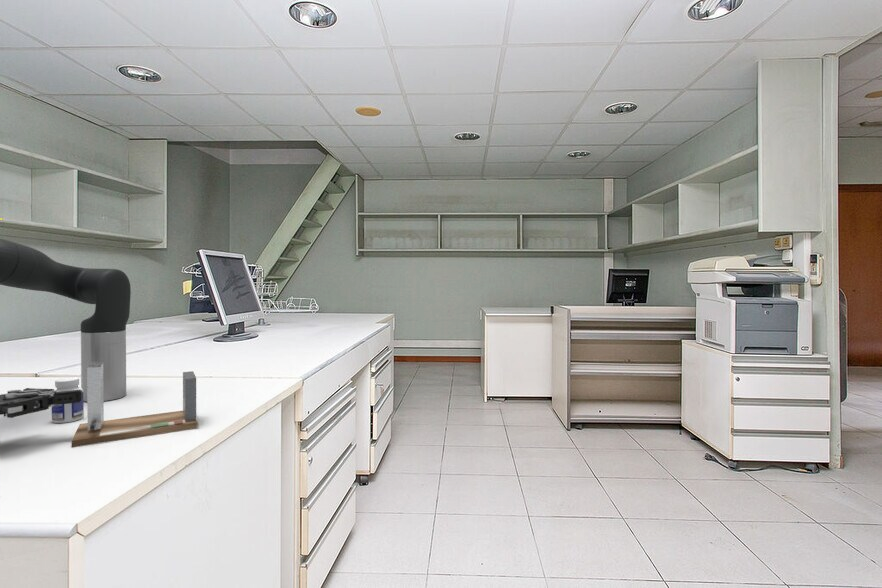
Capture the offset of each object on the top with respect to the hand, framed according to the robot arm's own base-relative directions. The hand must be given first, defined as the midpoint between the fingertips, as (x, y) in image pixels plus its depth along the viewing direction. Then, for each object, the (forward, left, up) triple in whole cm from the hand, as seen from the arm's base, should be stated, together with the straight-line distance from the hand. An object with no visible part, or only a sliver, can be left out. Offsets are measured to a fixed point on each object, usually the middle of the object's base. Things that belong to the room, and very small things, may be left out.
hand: (81, 395), depth 85 cm
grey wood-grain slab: (0, +18, -7) cm, 19 cm away
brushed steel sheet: (+2, +2, -6) cm, 7 cm away
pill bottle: (-15, -4, -8) cm, 17 cm away
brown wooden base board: (0, +9, -8) cm, 12 cm away
